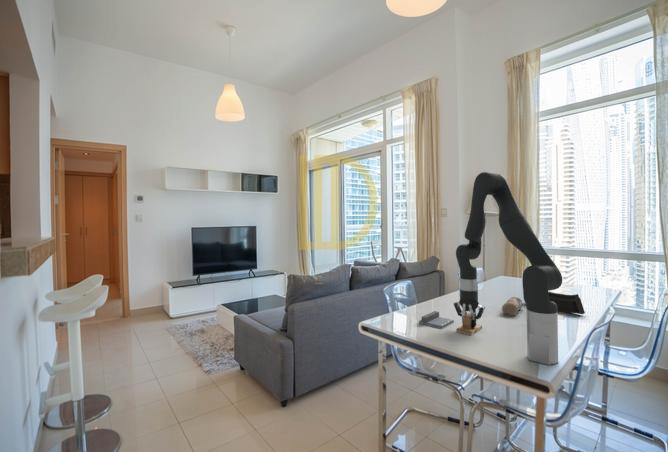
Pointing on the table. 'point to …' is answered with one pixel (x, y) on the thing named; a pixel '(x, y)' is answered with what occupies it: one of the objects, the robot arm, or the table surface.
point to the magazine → (567, 302)
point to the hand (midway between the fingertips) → (469, 326)
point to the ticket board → (435, 320)
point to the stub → (468, 325)
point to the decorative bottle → (512, 306)
